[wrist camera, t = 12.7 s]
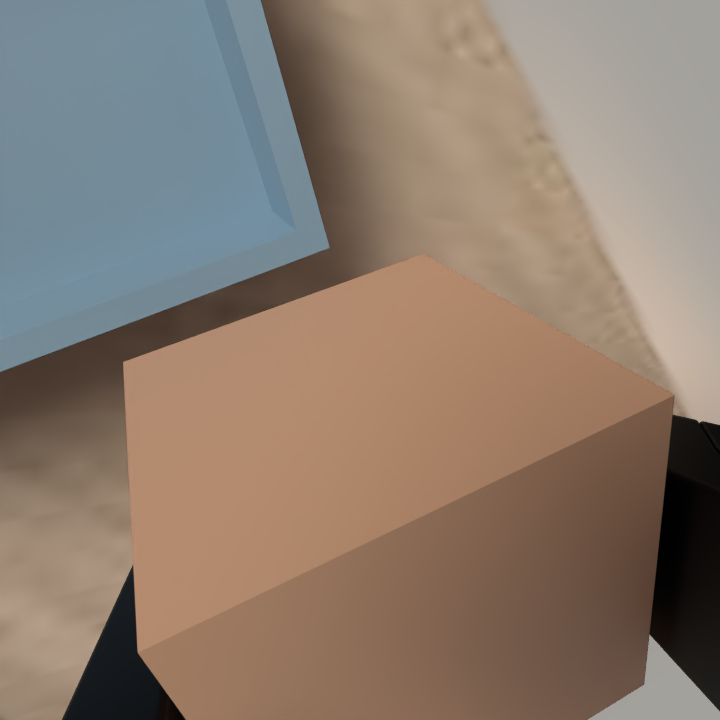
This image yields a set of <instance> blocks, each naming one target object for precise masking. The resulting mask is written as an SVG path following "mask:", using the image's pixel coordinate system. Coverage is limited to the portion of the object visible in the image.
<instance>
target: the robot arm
mask: <svg viewBox="0 0 720 720" xmlns="http://www.w3.org/2000/svg"><path fill="white" fill-rule="evenodd" d="M649 634H650V635H651V636H652V637H653V639H654V640H655V641H656V642H657V643H658V644H659V645H660V646H661V647H662V648H663V650H664V651H665V652H666V653H667V654H668V655H669V656H670V657H671V658H672V659H673V661H674V662H675V663H676V664H677V665H678V666H679V667H680V668H681V669H682V670H683V671H684V672H685V674H686V675H687V676H688V677H689V678H690V679H691V680H692V681H693V682H694V683H695V684H696V686H697V687H698V688H699V689H700V690H701V691H702V692H703V693H704V694H705V696H706V697H707V698H708V699H709V700H710V701H711V702H712V703H713V704H714V706H715V707H716V708H717V709H718V710H719V711H720V425H717V424H712V423H708V422H703V421H702V422H700V423H699V422H698V421H697V420H694V419H690V418H685V417H681V416H676V415H672V424H671V433H670V443H669V452H668V462H667V471H666V481H665V490H664V500H663V509H662V519H661V528H660V538H659V547H658V557H657V566H656V576H655V585H654V595H653V604H652V614H651V623H650V633H649ZM62 720H186V719H185V718H184V716H183V715H182V713H181V712H180V711H179V709H178V708H177V707H176V705H175V704H174V702H173V701H172V700H171V698H170V697H169V695H168V694H167V693H166V691H165V690H164V689H163V687H162V686H161V684H160V683H159V682H158V680H157V679H156V677H155V676H154V675H153V673H152V672H151V671H150V669H149V668H148V666H147V665H146V664H145V662H144V661H143V659H142V658H141V657H140V655H139V654H138V649H137V629H136V609H135V589H134V569H133V566H132V568H131V570H130V572H129V574H128V577H127V579H126V581H125V583H124V585H123V587H122V590H121V592H120V594H119V596H118V598H117V601H116V603H115V605H114V607H113V609H112V612H111V614H110V616H109V618H108V620H107V622H106V625H105V627H104V629H103V631H102V633H101V636H100V638H99V640H98V642H97V644H96V646H95V649H94V651H93V653H92V655H91V657H90V660H89V662H88V664H87V666H86V668H85V670H84V673H83V675H82V677H81V679H80V681H79V684H78V686H77V688H76V690H75V692H74V695H73V697H72V699H71V701H70V703H69V705H68V708H67V710H66V712H65V714H64V716H63V719H62Z"/></svg>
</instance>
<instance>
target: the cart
mask: <svg viewBox="0 0 720 720" xmlns="http://www.w3.org/2000/svg"><path fill="white" fill-rule="evenodd" d="M328 248H330V247H329V243H328V240H327V236H326V233H325V229H324V226H323V222H322V218H321V215H320V211H319V208H318V204H317V200H316V197H315V193H314V190H313V186H312V183H311V179H310V175H309V172H308V168H307V165H306V161H305V158H304V154H303V150H302V147H301V143H300V140H299V136H298V133H297V129H296V125H295V122H294V118H293V115H292V111H291V108H290V104H289V100H288V97H287V93H286V90H285V86H284V82H283V79H282V75H281V72H280V68H279V65H278V61H277V57H276V54H275V50H274V47H273V43H272V40H271V36H270V32H269V29H268V25H267V22H266V18H265V15H264V11H263V7H262V4H261V0H0V372H1V371H4V370H7V369H9V368H12V367H15V366H17V365H20V364H22V363H25V362H28V361H30V360H33V359H36V358H38V357H41V356H44V355H46V354H49V353H52V352H54V351H57V350H60V349H62V348H65V347H68V346H70V345H73V344H76V343H78V342H81V341H84V340H86V339H89V338H92V337H94V336H97V335H100V334H102V333H105V332H107V331H110V330H113V329H115V328H118V327H121V326H123V325H126V324H129V323H131V322H134V321H137V320H139V319H142V318H145V317H147V316H150V315H153V314H155V313H158V312H161V311H163V310H166V309H169V308H171V307H174V306H177V305H179V304H182V303H185V302H187V301H190V300H193V299H195V298H198V297H200V296H203V295H206V294H208V293H211V292H214V291H216V290H219V289H222V288H224V287H227V286H230V285H232V284H235V283H238V282H240V281H243V280H246V279H248V278H251V277H254V276H256V275H259V274H262V273H264V272H267V271H270V270H272V269H275V268H278V267H280V266H283V265H285V264H288V263H291V262H293V261H296V260H299V259H301V258H304V257H307V256H309V255H312V254H315V253H317V252H320V251H323V250H325V249H328Z"/></svg>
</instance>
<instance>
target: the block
mask: <svg viewBox="0 0 720 720" xmlns="http://www.w3.org/2000/svg"><path fill="white" fill-rule="evenodd" d="M123 371H124V391H125V411H126V431H127V451H128V470H129V490H130V510H131V530H132V550H133V569H134V589H135V609H136V629H137V649H138V654H139V655H140V657H141V658H142V659H143V661H144V662H145V664H146V665H147V666H148V668H149V669H150V671H151V672H152V673H153V675H154V676H155V677H156V679H157V680H158V682H159V683H160V684H161V686H162V687H163V689H164V690H165V691H166V693H167V694H168V695H169V697H170V698H171V700H172V701H173V702H174V704H175V705H176V707H177V708H178V709H179V711H180V712H181V713H182V715H183V716H184V718H185V719H186V720H587V719H589V718H591V717H592V716H594V715H595V714H597V713H599V712H600V711H602V710H604V709H605V708H607V707H608V706H610V705H612V704H613V703H615V702H616V701H618V700H620V699H621V698H623V697H625V696H626V695H628V694H629V693H631V692H633V691H634V690H636V689H638V688H639V687H641V686H642V685H644V679H645V670H646V661H647V651H648V642H649V633H650V623H651V614H652V604H653V595H654V585H655V576H656V566H657V557H658V547H659V538H660V528H661V519H662V509H663V500H664V490H665V481H666V471H667V462H668V452H669V443H670V433H671V424H672V414H673V405H674V395H673V394H672V393H670V392H668V391H666V390H664V389H663V388H661V387H659V386H657V385H656V384H654V383H652V382H650V381H648V380H647V379H645V378H643V377H641V376H640V375H638V374H636V373H634V372H632V371H631V370H629V369H627V368H625V367H624V366H622V365H620V364H618V363H616V362H615V361H613V360H611V359H609V358H608V357H606V356H604V355H602V354H600V353H599V352H597V351H595V350H593V349H592V348H590V347H588V346H586V345H584V344H583V343H581V342H579V341H577V340H576V339H574V338H572V337H570V336H568V335H567V334H565V333H563V332H561V331H560V330H558V329H556V328H554V327H552V326H551V325H549V324H547V323H545V322H544V321H542V320H540V319H538V318H536V317H535V316H533V315H531V314H529V313H528V312H526V311H524V310H522V309H520V308H519V307H517V306H515V305H513V304H512V303H510V302H508V301H506V300H505V299H503V298H501V297H499V296H497V295H496V294H494V293H492V292H490V291H489V290H487V289H485V288H483V287H481V286H480V285H478V284H476V283H474V282H473V281H471V280H469V279H467V278H465V277H464V276H462V275H460V274H458V273H457V272H455V271H453V270H451V269H449V268H448V267H446V266H444V265H442V264H441V263H439V262H437V261H435V260H433V259H432V258H430V257H428V256H426V255H425V254H421V255H419V256H416V257H413V258H410V259H407V260H405V261H402V262H399V263H396V264H394V265H391V266H388V267H385V268H383V269H380V270H377V271H374V272H371V273H369V274H366V275H363V276H360V277H358V278H355V279H352V280H349V281H346V282H344V283H341V284H338V285H335V286H333V287H330V288H327V289H324V290H322V291H319V292H316V293H313V294H310V295H308V296H305V297H302V298H299V299H297V300H294V301H291V302H288V303H285V304H283V305H280V306H277V307H274V308H272V309H269V310H266V311H263V312H260V313H258V314H255V315H252V316H249V317H247V318H244V319H241V320H238V321H236V322H233V323H230V324H227V325H224V326H222V327H219V328H216V329H213V330H211V331H208V332H205V333H202V334H199V335H197V336H194V337H191V338H188V339H186V340H183V341H180V342H177V343H175V344H172V345H169V346H166V347H163V348H161V349H158V350H155V351H152V352H150V353H147V354H144V355H141V356H138V357H136V358H133V359H130V360H127V361H125V362H123Z"/></svg>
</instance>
